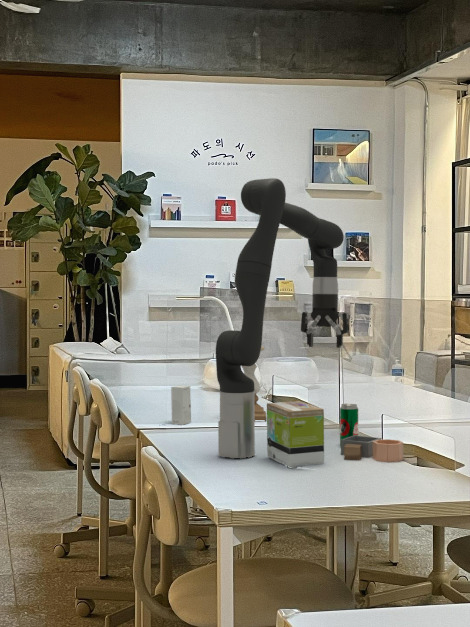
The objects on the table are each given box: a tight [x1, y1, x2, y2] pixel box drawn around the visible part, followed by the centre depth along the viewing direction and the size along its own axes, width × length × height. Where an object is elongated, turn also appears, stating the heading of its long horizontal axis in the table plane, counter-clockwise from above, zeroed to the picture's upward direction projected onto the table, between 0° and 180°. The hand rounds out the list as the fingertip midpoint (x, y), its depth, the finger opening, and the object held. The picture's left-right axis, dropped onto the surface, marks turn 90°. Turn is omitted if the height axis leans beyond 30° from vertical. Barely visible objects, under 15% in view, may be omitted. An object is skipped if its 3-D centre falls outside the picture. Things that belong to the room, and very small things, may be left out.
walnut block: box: [343, 444, 362, 461], centre depth 247 cm, size 4×4×4 cm
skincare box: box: [170, 384, 192, 426], centre depth 309 cm, size 6×4×12 cm
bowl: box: [372, 439, 404, 463], centre depth 246 cm, size 7×7×5 cm
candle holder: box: [241, 346, 267, 421], centre depth 317 cm, size 11×11×24 cm
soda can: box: [339, 403, 359, 447], centre depth 265 cm, size 5×5×12 cm
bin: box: [340, 435, 382, 459], centre depth 253 cm, size 8×8×4 cm
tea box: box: [266, 400, 325, 467], centre depth 246 cm, size 15×10×15 cm, turn 21°
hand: (324, 347), depth 284 cm, fingers open, 8 cm apart
